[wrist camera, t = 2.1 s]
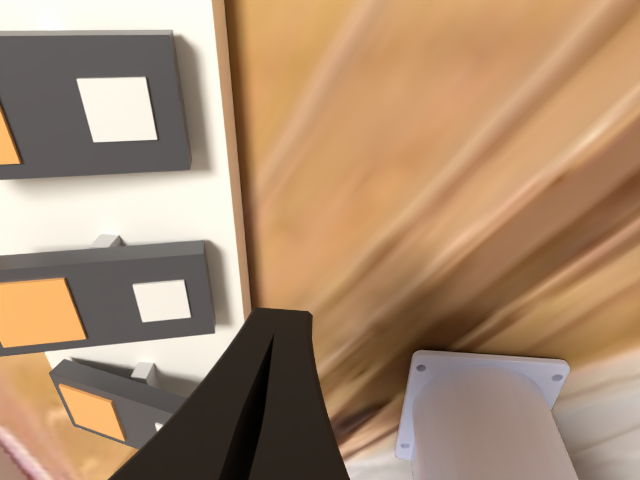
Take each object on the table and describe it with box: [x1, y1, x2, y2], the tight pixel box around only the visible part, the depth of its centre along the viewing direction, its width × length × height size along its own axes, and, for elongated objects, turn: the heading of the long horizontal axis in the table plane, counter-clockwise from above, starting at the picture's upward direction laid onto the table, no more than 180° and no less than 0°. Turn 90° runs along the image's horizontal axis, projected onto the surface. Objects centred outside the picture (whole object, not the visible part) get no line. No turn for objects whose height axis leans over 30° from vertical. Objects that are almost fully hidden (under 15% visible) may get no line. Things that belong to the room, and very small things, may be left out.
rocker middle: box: [0, 240, 216, 357], centre depth 19 cm, size 4×9×1 cm, turn 89°
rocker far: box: [49, 359, 187, 450], centre depth 23 cm, size 4×9×1 cm, turn 89°
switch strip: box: [0, 0, 252, 429], centre depth 20 cm, size 25×11×2 cm, turn 179°
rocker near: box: [0, 30, 192, 180], centre depth 14 cm, size 4×9×1 cm, turn 89°
